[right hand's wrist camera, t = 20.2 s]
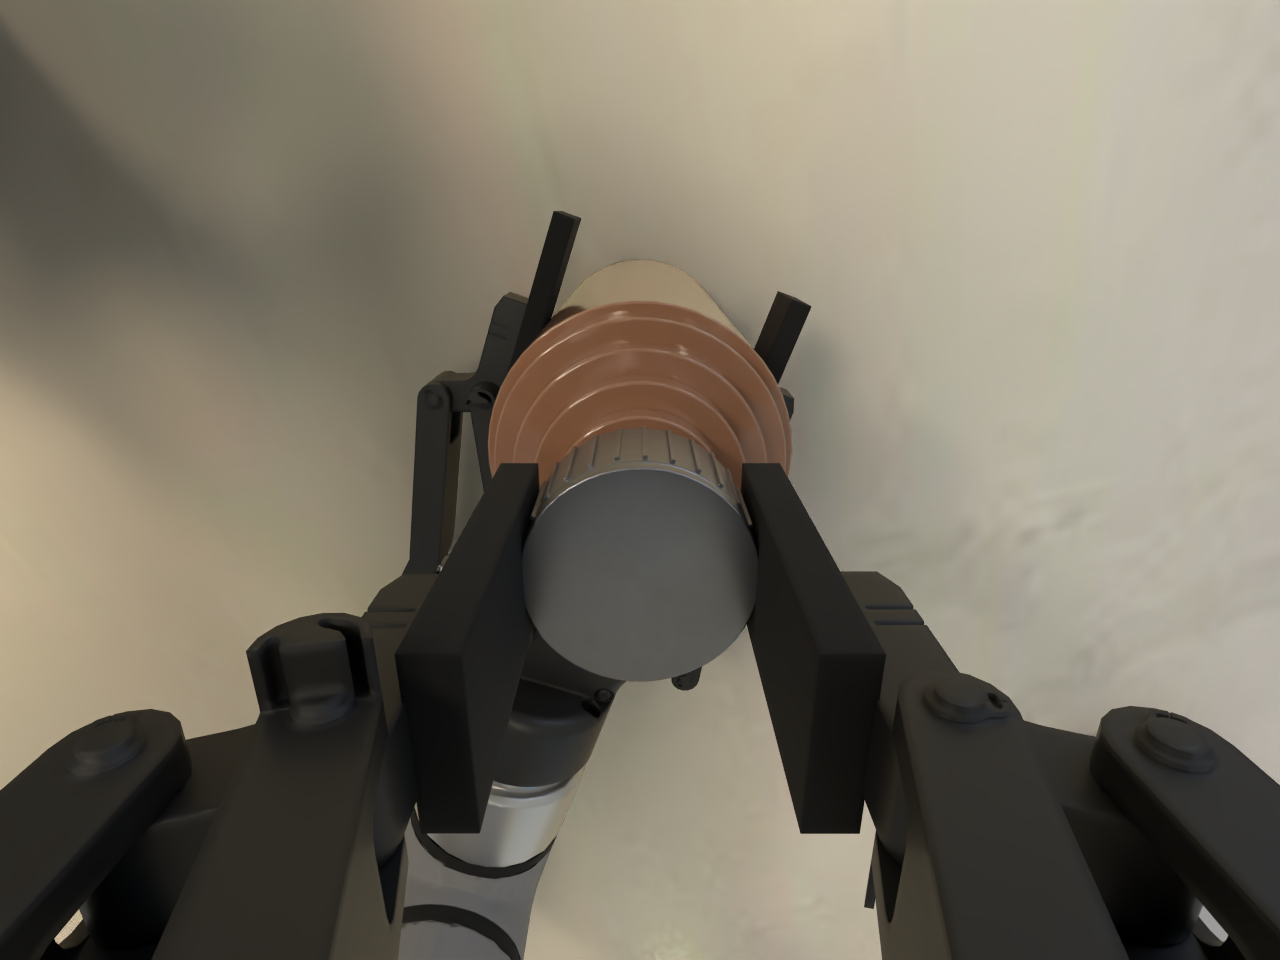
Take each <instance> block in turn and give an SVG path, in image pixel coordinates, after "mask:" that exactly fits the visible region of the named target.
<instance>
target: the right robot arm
mask: <svg viewBox="0 0 1280 960" xmlns="http://www.w3.org/2000/svg"><path fill="white" fill-rule="evenodd" d="M539 491H540V487H539V469H538V463H501V464H500V465H499V467H498V469H497V471H496V473H495V474H494V476H493V478H492V480H491V482H490V483H489V485H488V487H487V489H486V491H485V492H484V494H483V496H482V498H481V500H480V501H479V503H478V505H477V507H476V509H475V510H474V512H473V514H472V516H471V518H470V519H469V521H468V523H467V525H466V527H465V528H464V530H463V532H462V534H461V536H460V537H459V539H458V541H457V543H456V544H455V546H454V548H453V550H452V552H451V553H450V555H449V557H448V559H447V561H446V562H445V564H444V566H443V568H442V570H441V571H440V573H439V574H403V575H402V576H400V577H399V578H397V579H396V580H394V581H393V582H391V583H390V584H388V585H387V586H385V587H384V588H382V589H381V590H380V591H379V593H378V594H377V596H376V597H375V598H374V600H373V601H372V603H371V604H370V606H369V607H368V612H365V613H364V614H363V616H362V617H358V616H354V615H350V614H346V613H321V614H316V615H311V616H306V617H300V618H297V619H294V620H292V621H289V622H287V623H284V624H281V625H279V626H276V627H275V628H273V629H271V630H270V631H268V632H267V633H265V634H263V635H262V636H260V637H259V638H257V639H256V641H255V642H254V643H253V644H252V645H251V646H250V647H249V648H248V650H247V651H246V653H247V658H248V662H249V666H250V670H251V674H252V679H253V683H254V687H255V691H256V695H257V700H258V704H259V708H260V712H261V713H260V715H259V717H258V720H257V722H256V724H254V725H250V726H247V727H243V728H239V729H235V730H231V731H226V732H221V733H216V734H212V735H207V736H202V737H197V738H193V739H188V740H185V736H184V733H183V730H182V726H181V723H180V721H179V720H178V719H177V718H176V717H174V716H173V715H172V714H171V713H170V712H164V711H159V710H153V709H147V710H137V711H127V712H123V713H119V714H114V715H113V716H111V715H110V716H107V717H104V718H102V719H99V720H96V721H94V722H93V723H91V724H89V725H87V726H84V727H82V728H80V729H78V730H76V731H74V732H72V733H70V734H69V735H67V736H66V737H65V738H63V739H62V740H60V741H59V742H57V743H56V744H55V745H53V746H52V747H50V748H49V749H48V750H46V751H45V752H44V753H43V754H42V755H41V756H40V757H38V758H37V759H36V760H35V761H34V762H33V763H31V764H30V765H29V766H28V767H27V768H26V769H25V770H23V771H22V772H21V773H20V774H19V775H18V776H17V777H15V778H14V779H13V780H12V781H11V782H10V783H9V784H7V785H6V786H5V787H4V788H3V789H2V790H0V960H398V954H399V945H400V936H401V927H402V918H403V909H404V900H405V891H406V882H407V873H408V864H409V861H408V854H407V847H406V841H405V835H404V833H405V830H406V828H407V825H408V822H409V820H410V817H411V815H412V812H413V809H414V807H415V804H416V803H417V810H418V817H419V823H420V830H421V834H480V831H481V827H482V823H483V820H484V816H485V812H486V808H487V804H488V800H489V796H490V792H491V789H492V785H493V781H494V777H495V773H496V769H497V765H498V761H499V757H500V754H501V750H502V746H503V742H504V738H505V734H506V730H507V726H508V723H509V719H510V715H511V711H512V707H513V703H514V699H515V695H516V692H517V688H518V684H519V680H520V676H521V672H522V668H523V664H524V660H525V657H526V653H527V649H528V645H529V641H530V637H531V633H532V629H533V626H534V625H533V624H532V622H531V620H530V618H529V616H528V614H527V612H526V609H525V599H524V584H523V569H522V548H523V544H524V541H525V538H526V535H527V533H528V530H529V527H530V524H531V521H532V520H531V519H530V516H531V513H532V511H533V508H534V505H535V502H536V499H537V497H538V494H539ZM741 493H742V496H743V499H744V502H745V504H746V507H747V510H748V513H749V515H750V518H751V521H752V524H753V526H754V528H752V529H751V531H752V534H753V537H754V540H755V543H756V545H757V549H758V554H759V562H758V577H757V592H756V605H755V608H754V610H753V613H752V615H751V617H750V619H749V621H748V623H747V627H748V631H749V635H750V639H751V643H752V647H753V651H754V654H755V658H756V662H757V666H758V670H759V674H760V678H761V682H762V685H763V689H764V693H765V697H766V701H767V705H768V709H769V713H770V717H771V720H772V724H773V728H774V732H775V736H776V740H777V744H778V748H779V751H780V755H781V759H782V763H783V767H784V771H785V775H786V779H787V782H788V786H789V790H790V794H791V798H792V802H793V806H794V810H795V814H796V817H797V821H798V825H799V829H800V833H801V834H860V827H861V821H862V814H863V807H864V800H865V802H866V804H867V807H868V809H869V812H870V815H871V817H872V820H873V823H874V825H875V828H876V834H875V841H874V847H873V853H872V860H871V866H870V872H869V878H868V885H867V891H866V898H865V905H864V907H866V908H871V909H874V903H875V898H876V907H877V916H878V925H879V934H880V943H881V952H882V960H1280V785H1279V784H1278V783H1276V782H1275V781H1274V780H1273V779H1272V778H1271V777H1269V776H1268V775H1267V774H1266V773H1265V772H1264V771H1262V770H1261V769H1260V768H1259V767H1258V766H1257V765H1256V764H1254V763H1253V762H1252V761H1251V760H1250V759H1249V758H1247V757H1246V756H1245V755H1244V754H1243V753H1242V752H1240V751H1239V750H1238V749H1237V748H1236V747H1235V746H1233V745H1232V744H1231V743H1229V742H1228V741H1226V740H1225V739H1223V738H1222V737H1221V736H1219V735H1218V734H1216V733H1215V732H1213V731H1212V730H1210V729H1208V728H1206V727H1204V726H1202V725H1200V724H1198V723H1196V722H1193V721H1191V720H1189V719H1188V718H1186V717H1184V716H1181V715H1178V714H1175V713H1172V712H1171V713H1169V712H1168V711H1164V710H1159V709H1155V708H1145V707H1135V706H1128V707H1123V708H1117V709H1112V710H1111V711H1109V712H1108V713H1107V714H1106V715H1105V716H1104V717H1102V718H1101V722H1100V725H1099V729H1098V732H1097V736H1096V737H1093V736H1088V735H1083V734H1079V733H1074V732H1069V731H1064V730H1060V729H1055V728H1050V727H1045V726H1041V725H1038V724H1034V723H1030V722H1027V721H1024V720H1023V718H1022V716H1021V714H1020V712H1019V710H1018V709H1017V708H1016V706H1015V705H1014V704H1013V702H1012V701H1011V700H1010V698H1009V697H1008V696H1006V695H1005V694H1004V693H1002V692H1001V691H1000V690H998V689H997V688H995V687H994V686H993V685H991V684H989V683H987V682H985V681H982V680H980V679H978V678H975V677H973V676H971V675H968V674H963V673H959V671H958V670H957V668H956V667H955V665H954V664H953V662H952V661H951V660H950V658H949V657H948V655H947V654H946V652H945V651H944V649H943V648H942V647H941V645H940V644H939V642H938V641H937V639H936V638H935V637H934V635H933V634H932V632H931V631H930V629H929V628H928V626H927V625H924V621H923V619H922V618H921V616H920V615H919V613H918V612H917V611H916V610H913V605H912V603H911V602H910V600H909V599H908V598H907V596H906V595H905V593H904V592H903V590H902V589H901V588H900V587H899V586H898V585H896V584H895V583H893V582H892V581H890V580H889V579H887V578H886V577H884V576H883V575H881V574H880V573H878V572H840V570H839V569H838V567H837V565H836V563H835V561H834V560H833V558H832V556H831V554H830V552H829V551H828V549H827V547H826V545H825V543H824V542H823V540H822V538H821V536H820V534H819V533H818V531H817V529H816V527H815V525H814V524H813V522H812V520H811V518H810V516H809V515H808V513H807V511H806V509H805V507H804V506H803V504H802V502H801V500H800V498H799V497H798V495H797V493H796V491H795V489H794V488H793V486H792V484H791V482H790V481H789V479H788V477H787V475H786V473H785V472H784V470H783V468H782V466H781V464H780V463H742V479H741ZM1203 906H1204V907H1205V908H1206V909H1207V911H1208V912H1209V913H1210V914H1211V915H1212V916H1213V918H1214V919H1215V920H1216V921H1217V922H1218V924H1219V925H1220V926H1221V927H1222V928H1223V929H1224V931H1225V932H1226V933H1227V934H1228V937H1227V939H1226V940H1225V942H1223V941H1221V940H1220V939H1219V938H1218V937H1217V936H1216V935H1215V934H1214V933H1213V932H1211V931H1210V929H1209V928H1208V927H1207V926H1206V925H1205V923H1204V922H1203V921H1202V920H1201V919H1200V917H1199V914H1200V912H1201V909H1202V907H1203ZM78 909H79V910H80V912H81V915H82V917H83V920H82V921H81V922H80V923H79V925H78V926H77V927H76V928H75V929H74V931H73V932H72V933H71V934H70V935H69V936H68V937H67V938H65V939H64V940H63V941H62V942H61V943H60V944H59V945H58V944H57V943H56V942H55V939H54V938H55V937H56V936H57V934H58V933H59V932H60V931H61V930H62V929H63V927H64V926H65V925H66V924H67V923H68V921H69V920H70V919H71V918H72V917H73V915H74V914H75V913H76V912H77V911H78Z"/></svg>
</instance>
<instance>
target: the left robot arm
mask: <svg viewBox="0 0 1280 960" xmlns="http://www.w3.org/2000/svg"><path fill="white" fill-rule="evenodd" d="M580 221H581V218H579V217H576V216H574V215H571V214H568V213H566V212H563V211H554V212H553V215H552V219H551V222H550V226H549V229H548V233H547V236H546V240H545V243H544V247H543V250H542V254H541V257H540V261H539V264H538V268H537V271H536V275H535V278H534V282H533V285H532V289H531V292H530V296H529V298H526V297H523V296H520V295H518V294H515V293H512V292H509V293H508V294H506V295H504V296H503V297H502V299H501V300H500V301H499V303H498V304H497V305H496V306H495V308H494V312H493V315H492V319H491V323H490V326H489V330H488V334H487V338H486V341H485V345H484V349H483V352H482V356H481V360H480V363H479V367H478V370H477V371H476V372H473V373H455V372H452V371H445V372H442V373H440V374H439V375H438V376H437V377H435V378H434V379H433V380H432V381H430V382H429V383H428V384H427V385H425V386H424V387H423V388H422V389H421V390H420V392H419V394H418V400H417V420H416V440H415V460H414V480H413V501H412V521H411V541H410V560H409V562H408V564H407V566H406V568H405V570H404V572H403V574H439V573H440V571H441V570H442V568H443V566H444V564H445V562H446V561H447V559H448V557H449V554H448V551H449V549H450V547H451V543H452V540H453V535H454V527H455V513H456V500H457V486H458V473H459V459H460V446H461V432H462V419H463V412H471V418H472V424H473V430H474V435H475V441H476V447H477V453H478V459H479V465H480V471H481V476H482V482H483V488H484V492H485V491H486V489H487V487H488V485H489V483H490V482H491V480H492V475H491V470H490V465H489V454H488V435H489V424H490V419H491V415H492V410H493V406H494V403H495V400H496V398H497V395H498V393H499V390H500V387H501V385H502V384H503V382H504V380H505V378H506V376H507V374H508V373H509V371H510V369H511V368H512V366H513V365H514V364H515V362H516V361H517V360H518V358H519V357H520V356H521V354H522V353H523V352H524V351H525V350H526V348H527V347H528V346H529V345H530V344H531V342H532V341H533V340H534V339H535V338H536V336H537V335H538V334H539V333H540V332H541V330H542V329H543V328H544V327H545V326H546V324H547V323H548V322H549V321H550V320H551V317H552V314H553V311H554V307H555V304H556V301H557V297H558V294H559V291H560V287H561V284H562V281H563V277H564V274H565V271H566V267H567V264H568V261H569V257H570V254H571V251H572V247H573V244H574V241H575V237H576V234H577V231H578V227H579V224H580ZM810 309H811V306H810V305H808V304H806V303H804V302H802V301H800V300H799V299H797V298H795V297H792V296H789V295H787V294H784V293H781V292H779V291H778V292H777V295H776V297H775V300H774V302H773V305H772V307H771V309H770V312H769V314H768V317H767V319H766V322H765V324H764V326H763V329H762V331H761V334H760V336H759V339H758V341H757V344H756V346H755V348H754V350H755V351H756V352H757V354H758V355H759V356H760V357H761V358H762V360H763V361H764V363H765V364H766V366H767V367H768V369H769V370H770V371H771V373H772V374H773V376H774V378H775V380H776V382H777V384H778V383H779V381H780V379H781V376H782V374H783V372H784V369H785V367H786V365H787V362H788V360H789V358H790V355H791V353H792V351H793V348H794V346H795V344H796V341H797V339H798V337H799V334H800V332H801V330H802V327H803V325H804V323H805V320H806V318H807V316H808V313H809V311H810ZM779 388H780V387H779ZM780 390H781V393H782V395H783V398H784V401H785V404H786V408H787V411H788V415H789V421H790V419H791V416H792V414H793V409H794V398H793V397H792V396H791V394H790V393H789V392H788V391H787V390H786V389H783V388H780ZM403 574H402V575H403ZM701 669H702V666H701V667H699V668H697V669H695V670H693V671H691V672H688V673H685V674H682V675H679V676H676V677H672V678H671V679H672V683H673V685H674V686H675V687H676V688H677V689H680V690H690V689H693V688H694V687H695V686H696V685H697V683H698V681H699V677H700V673H701ZM625 682H626V681H625V680H617V679H612V678H608V677H604V676H600V675H597V674H595V673H592V672H589V671H587V670H585V669H583V668H580V667H578V666H576V665H574V664H573V663H571V662H570V661H568V660H567V659H565V658H564V657H562V656H561V655H560V654H559V653H557V652H556V651H555V650H554V649H553V648H551V647H550V645H549V644H548V643H547V642H546V641H545V640H544V639H543V638H542V637H541V635H540V634H539V632H538V631H537V630H536V628H535V627H534V626H533V629H532V633H531V637H530V641H529V645H528V649H527V653H526V657H525V660H524V664H523V668H522V672H521V676H520V680H519V684H518V688H517V692H516V695H515V699H514V703H513V707H512V711H511V715H510V719H509V723H508V726H507V730H506V734H505V738H504V742H503V746H502V750H501V754H500V757H499V761H498V765H497V769H496V773H495V777H494V781H493V785H492V789H491V792H490V796H489V800H488V804H487V808H486V812H485V816H484V820H483V823H482V827H481V831H480V834H421V830H420V823H419V817H418V810H417V803H416V804H415V807H414V809H413V812H412V815H411V817H410V820H409V822H408V825H407V828H406V830H405V833H404V835H405V841H406V847H407V854H408V861H409V864H408V873H407V882H406V891H405V900H404V909H403V918H402V927H401V936H400V945H399V954H398V960H523V959H524V952H525V946H526V939H527V933H528V926H529V920H530V914H531V908H532V903H533V899H534V895H535V891H536V888H537V885H538V882H539V879H540V877H541V874H542V871H543V869H544V866H545V863H546V861H547V858H548V855H549V853H550V850H551V847H552V845H553V843H554V841H555V839H556V836H557V834H558V831H559V829H560V827H561V825H562V823H563V820H564V818H565V816H566V813H567V811H568V809H569V806H570V804H571V802H572V799H573V797H574V795H575V792H576V790H577V788H578V785H579V783H580V780H581V778H582V776H583V772H584V768H585V764H586V763H587V761H588V759H589V757H590V755H591V753H592V750H593V748H594V746H595V743H596V741H597V738H598V736H599V733H600V731H601V729H602V726H603V724H604V721H605V719H606V716H607V714H608V711H609V709H610V707H611V704H612V702H613V699H614V697H615V694H616V692H617V690H618V689H619V688H620V687H621V685H622V684H624V683H625Z"/></svg>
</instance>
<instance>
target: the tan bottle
mask: <svg viewBox="0 0 1280 960" xmlns="http://www.w3.org/2000/svg"><path fill="white" fill-rule="evenodd" d="M642 426H647V428H650V429H657V430H664V431H667V430H671V431H672V433H675V434H678V435H680V436H682V437H685V438H687V439H689V440H690V439H691V438H692V439H694V440H695V443H696V444H698V445H700V446H701V447H703V448H704V449H705V450H707V451H708V452H709V453H710V452H711V451H712V452H713V453H714V454H715V458H716V459H717V460H718V461H719V462H720V463H721V464H722V466H723V467H724V468H725V470H726V469H727V468H728V469H729V470H730V473H731V476H732V478H733V481H734V484H735V487H736V489H738V488H740V491H741V479H742V463H780V464H781V466H782V468H783V470H784V472H785V473H786V475H787V477H788V474H789V470H790V463H791V453H792V439H791V427H790V421H789V415H788V411H787V408H786V404H785V401H784V398H783V395H782V393H781V390H780V388H779V386H778V384H777V382H776V380H775V378H774V376H773V374H772V373H771V371H770V370H769V369H768V367H767V366H766V364H765V363H764V361H763V360H762V358H761V357H760V356H759V355H758V354H757V352H756V351H755V350H754V349H753V348H752V346H751V345H750V344H749V343H748V342H747V340H746V339H745V338H744V337H743V336H742V334H741V333H740V332H739V331H738V330H737V328H736V327H735V326H734V325H733V324H732V322H731V321H730V320H729V319H728V318H727V316H726V315H725V314H724V313H723V312H722V310H721V309H720V308H719V307H718V306H717V304H716V303H715V302H714V301H713V300H712V298H711V297H710V296H709V295H708V294H707V292H706V291H705V290H704V289H703V288H702V287H701V286H700V285H699V284H698V283H697V282H696V281H695V280H694V279H693V278H691V277H690V276H689V275H687V274H686V273H684V272H683V271H681V270H679V269H677V268H675V267H673V266H670V265H667V264H664V263H661V262H656V261H650V260H631V261H623V262H620V263H616V264H612V265H610V266H608V267H605V268H603V269H601V270H599V271H598V272H596V273H594V274H593V275H591V276H590V277H589V278H587V279H586V280H585V281H584V282H583V283H582V284H581V285H580V286H579V287H578V288H577V289H576V290H575V291H574V292H573V293H572V295H571V296H570V297H569V298H568V299H567V301H566V302H565V303H564V304H563V305H562V307H561V308H560V309H559V310H558V311H557V313H556V314H555V315H554V316H553V317H552V319H551V320H550V321H549V322H548V323H547V324H546V326H545V327H544V328H543V329H542V330H541V332H540V333H539V334H538V335H537V336H536V338H535V339H534V340H533V341H532V342H531V344H530V345H529V346H528V347H527V348H526V350H525V351H524V352H523V353H522V354H521V356H520V357H519V358H518V360H517V361H516V362H515V364H514V365H513V366H512V368H511V369H510V371H509V373H508V374H507V376H506V378H505V380H504V382H503V384H502V385H501V387H500V390H499V393H498V395H497V398H496V400H495V403H494V406H493V410H492V415H491V419H490V424H489V435H488V454H489V465H490V470H491V475H492V478H493V476H494V474H495V473H496V471H497V469H498V467H499V465H500V464H501V463H538V469H539V487H540V488H541V485H542V483H543V481H544V480H545V481H547V480H548V478H549V476H550V475H551V473H552V472H553V469H554V466H555V463H556V462H557V461H558V462H559V463H560V462H561V461H562V460H563V459H564V458H565V457H566V456H567V455H568V454H569V453H570V452H571V451H572V448H573V447H574V446H576V447H578V446H580V445H581V444H583V443H585V442H587V441H589V440H590V439H592V438H593V436H594V435H596V434H598V436H600V435H602V434H605V433H608V432H612V431H616V430H617V428H622V429H630V428H642Z"/></svg>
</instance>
